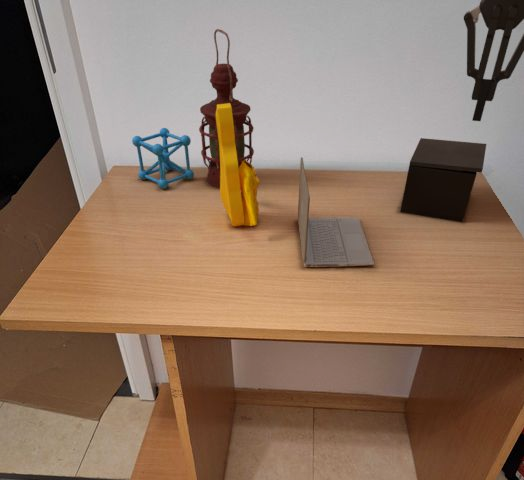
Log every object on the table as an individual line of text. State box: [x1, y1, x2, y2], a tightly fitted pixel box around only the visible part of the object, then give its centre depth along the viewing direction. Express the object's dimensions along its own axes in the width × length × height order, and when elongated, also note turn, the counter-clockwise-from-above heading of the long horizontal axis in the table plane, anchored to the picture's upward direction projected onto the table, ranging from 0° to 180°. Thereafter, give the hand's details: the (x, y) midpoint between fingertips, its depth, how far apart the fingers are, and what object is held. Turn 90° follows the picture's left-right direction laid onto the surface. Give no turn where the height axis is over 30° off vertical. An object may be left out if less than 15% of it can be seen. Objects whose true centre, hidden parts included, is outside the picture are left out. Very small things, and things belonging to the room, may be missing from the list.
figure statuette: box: [216, 103, 261, 227], centre depth 92 cm, size 18×8×22 cm, turn 8°
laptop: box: [297, 156, 375, 268], centre depth 88 cm, size 18×12×13 cm
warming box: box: [399, 165, 478, 223], centre depth 102 cm, size 13×15×10 cm
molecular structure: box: [131, 127, 195, 190], centre depth 112 cm, size 10×10×10 cm
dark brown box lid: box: [408, 137, 487, 173], centre depth 98 cm, size 13×15×1 cm
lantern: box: [198, 28, 255, 189], centre depth 105 cm, size 12×12×30 cm
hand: (476, 118), depth 92 cm, fingers closed
